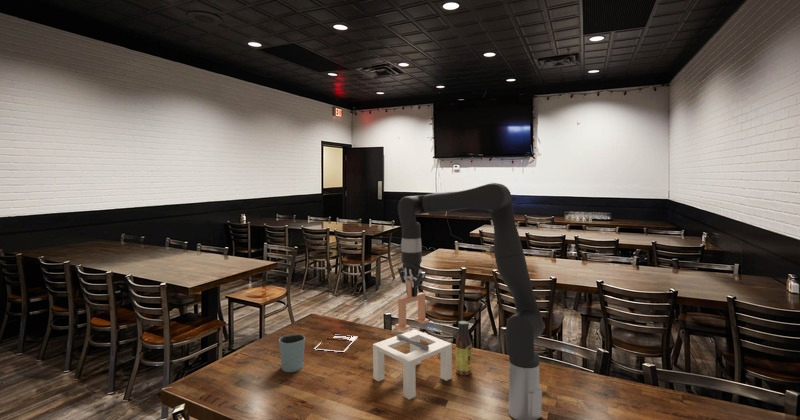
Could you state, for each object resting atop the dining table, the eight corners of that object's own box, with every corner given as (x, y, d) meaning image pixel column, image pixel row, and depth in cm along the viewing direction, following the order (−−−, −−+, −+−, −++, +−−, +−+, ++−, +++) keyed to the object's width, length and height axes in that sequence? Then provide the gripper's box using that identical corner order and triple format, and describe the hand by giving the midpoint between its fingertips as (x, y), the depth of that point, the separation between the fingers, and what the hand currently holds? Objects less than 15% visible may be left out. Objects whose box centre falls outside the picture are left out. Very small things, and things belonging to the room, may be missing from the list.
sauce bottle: (471, 377, 153) (471, 326, 151) (455, 375, 154) (454, 325, 153) (471, 369, 159) (472, 320, 158) (456, 367, 160) (456, 319, 159)
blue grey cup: (275, 371, 159) (274, 342, 158) (287, 360, 169) (287, 332, 168) (298, 374, 157) (297, 344, 156) (310, 362, 166) (309, 334, 166)
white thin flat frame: (358, 336, 193) (343, 351, 175) (358, 338, 193) (344, 354, 175) (329, 333, 196) (313, 348, 179) (330, 335, 196) (313, 351, 179)
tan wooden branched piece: (420, 318, 157) (419, 275, 155) (429, 322, 153) (428, 278, 152) (394, 327, 148) (394, 281, 147) (403, 330, 144) (403, 284, 143)
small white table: (415, 361, 167) (414, 325, 166) (451, 378, 152) (451, 339, 151) (373, 378, 152) (372, 340, 151) (409, 399, 137) (408, 357, 136)
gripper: (431, 250, 146) (432, 297, 147) (406, 246, 156) (406, 290, 157) (417, 253, 141) (417, 301, 142) (391, 249, 151) (392, 294, 152)
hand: (411, 295), depth 150 cm, fingers closed on tan wooden branched piece
